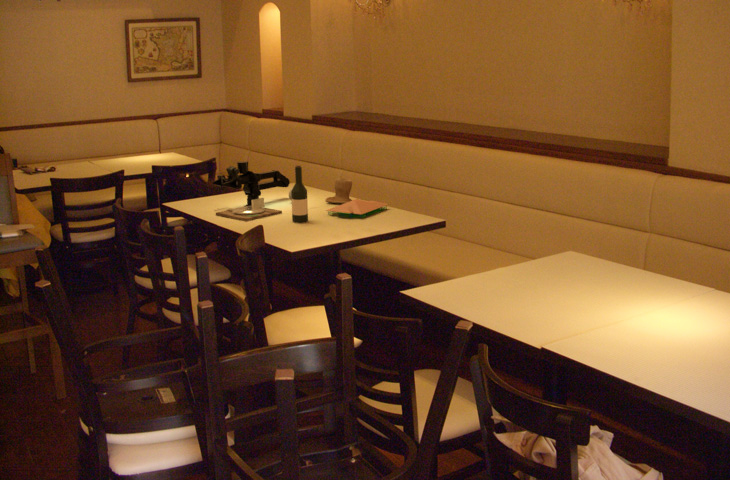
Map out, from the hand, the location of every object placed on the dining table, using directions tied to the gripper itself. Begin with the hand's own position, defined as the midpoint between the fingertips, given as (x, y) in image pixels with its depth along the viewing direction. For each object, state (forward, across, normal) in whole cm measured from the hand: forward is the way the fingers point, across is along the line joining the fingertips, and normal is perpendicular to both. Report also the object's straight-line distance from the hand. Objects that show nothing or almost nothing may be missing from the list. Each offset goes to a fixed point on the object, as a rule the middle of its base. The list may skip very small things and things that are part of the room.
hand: (217, 183), depth 416 cm
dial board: (-7, +17, +16) cm, 25 cm away
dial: (-7, +17, +15) cm, 24 cm away
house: (-47, +62, +17) cm, 80 cm away
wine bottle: (-12, +53, +17) cm, 57 cm away
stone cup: (-62, +36, +17) cm, 74 cm away
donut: (-47, +14, +17) cm, 52 cm away
